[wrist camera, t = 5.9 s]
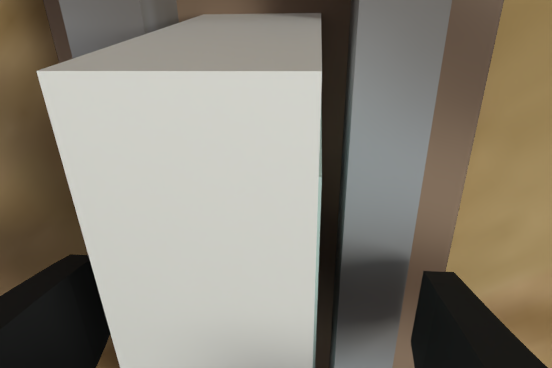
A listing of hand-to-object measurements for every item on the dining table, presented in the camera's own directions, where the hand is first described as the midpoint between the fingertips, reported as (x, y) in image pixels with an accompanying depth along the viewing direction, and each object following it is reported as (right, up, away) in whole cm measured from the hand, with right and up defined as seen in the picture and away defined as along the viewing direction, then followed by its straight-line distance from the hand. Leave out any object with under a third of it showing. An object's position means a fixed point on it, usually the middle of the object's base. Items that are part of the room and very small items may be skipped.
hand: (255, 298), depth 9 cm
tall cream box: (0, +1, +3) cm, 3 cm away
